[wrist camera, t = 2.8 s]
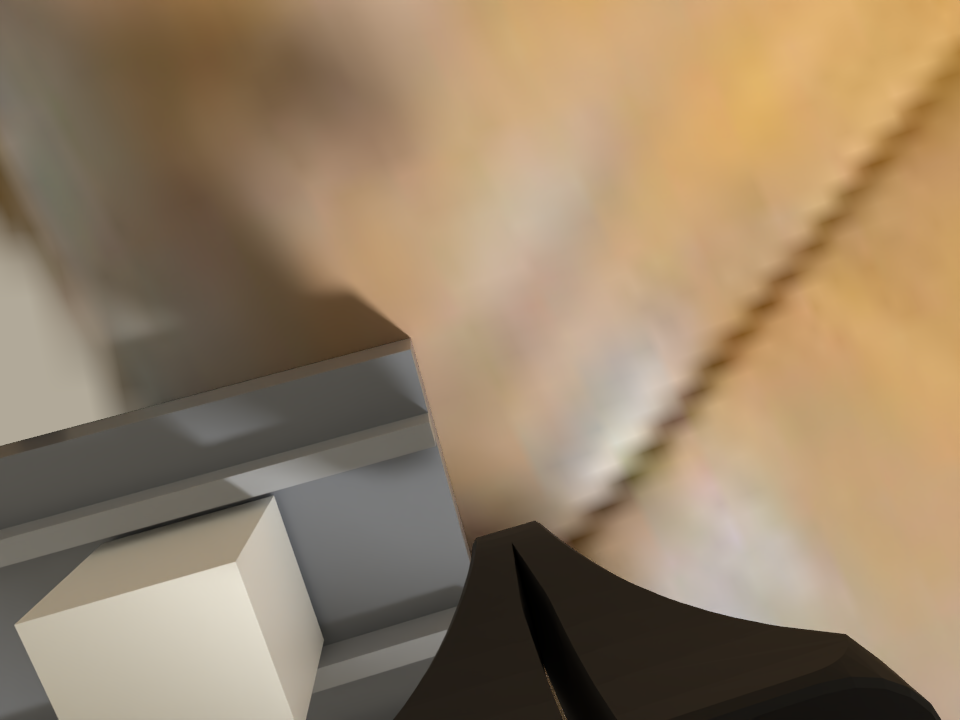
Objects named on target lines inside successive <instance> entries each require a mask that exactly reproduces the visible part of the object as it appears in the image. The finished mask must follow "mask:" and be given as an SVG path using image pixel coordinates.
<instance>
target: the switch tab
mask: <svg viewBox="0 0 960 720" xmlns="http://www.w3.org/2000/svg"><path fill="white" fill-rule="evenodd" d="M14 626H15V628H16V630H17V632H18V634H19V636H20V638H21V641H22V643H23V645H24V647H25V649H26V651H27V653H28V655H29V658H30V660H31V662H32V664H33V666H34V668H35V670H36V672H37V675H38V677H39V679H40V681H41V683H42V685H43V687H44V689H45V692H46V694H47V696H48V698H49V700H50V702H51V704H52V706H53V709H54V711H55V713H56V715H57V717H58V719H59V720H306V717H307V712H308V708H309V704H310V699H311V695H312V691H313V686H314V682H315V677H316V673H317V669H318V664H319V660H320V655H321V651H322V647H323V642H324V638H323V636H322V633H321V630H320V627H319V624H318V621H317V618H316V615H315V612H314V610H313V607H312V604H311V601H310V598H309V595H308V592H307V589H306V586H305V584H304V581H303V578H302V575H301V572H300V569H299V566H298V563H297V561H296V558H295V555H294V552H293V549H292V546H291V543H290V540H289V537H288V535H287V532H286V529H285V526H284V523H283V520H282V517H281V514H280V511H279V509H278V506H277V503H276V500H275V497H274V496H270V497H266V498H263V499H259V500H256V501H252V502H249V503H245V504H241V505H238V506H234V507H231V508H227V509H224V510H220V511H216V512H213V513H209V514H206V515H202V516H198V517H195V518H191V519H188V520H184V521H181V522H177V523H173V524H170V525H166V526H163V527H159V528H155V529H152V530H148V531H145V532H141V533H138V534H134V535H130V536H127V537H123V538H120V539H116V540H112V541H109V542H105V543H102V544H101V545H100V546H99V547H98V548H97V549H96V550H95V551H94V552H93V553H92V554H90V555H89V556H88V557H87V558H86V559H85V560H84V561H83V562H82V563H81V564H80V565H79V566H77V567H76V568H75V569H74V570H73V571H72V572H71V573H70V574H69V575H68V576H67V577H66V578H64V579H63V580H62V581H61V582H60V583H59V584H58V585H57V586H56V587H55V588H54V589H53V590H51V591H50V592H49V593H48V594H47V595H46V596H45V597H44V598H43V599H42V600H41V601H40V602H38V603H37V604H36V605H35V606H34V607H33V608H32V609H31V610H30V611H29V612H28V613H27V614H25V615H24V616H23V617H22V618H21V619H20V620H19V621H18V622H17V623H16V624H15V625H14Z"/></svg>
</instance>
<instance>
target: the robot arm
mask: <svg viewBox="0 0 960 720" xmlns="http://www.w3.org/2000/svg"><path fill="white" fill-rule="evenodd" d="M543 664H544V665H543ZM544 667H545V669H546V671H547V674H548V676H549V678H550V681H551V683H552V685H553V688H554V690H555V692H556V695H557V697H558V699H559V702H560V704H561V706H562V708H563V711H564V713H565V715H566V718H567V720H941V719H940V717H939V715H938V714H937V712H936V711H935V709H934V708H933V706H932V705H931V703H929V702H928V701H927V700H926V699H925V698H924V697H923V696H921V695H920V694H919V693H918V692H917V691H916V690H914V689H913V688H912V687H911V686H910V685H909V684H907V683H906V682H905V681H904V680H903V679H902V678H901V677H900V676H899V675H897V674H896V673H895V672H894V671H893V670H891V669H890V668H889V667H888V666H887V665H886V664H884V663H883V662H882V661H881V660H880V659H878V658H877V657H876V656H874V655H873V654H872V653H870V652H869V651H868V650H866V649H865V648H864V647H862V646H861V645H859V644H858V643H857V642H855V641H854V640H853V639H852V638H850V637H849V636H848V635H846V634H839V633H831V632H822V631H814V630H806V629H797V628H789V627H780V626H774V625H769V624H764V623H759V622H754V621H749V620H744V619H739V618H734V617H730V616H726V615H722V614H718V613H714V612H710V611H707V610H703V609H700V608H697V607H693V606H690V605H687V604H684V603H680V602H677V601H675V600H672V599H669V598H666V597H663V596H661V595H658V594H656V593H654V592H651V591H649V590H646V589H644V588H642V587H639V586H637V585H634V584H632V583H630V582H628V581H626V580H624V579H622V578H620V577H618V576H616V575H614V574H613V573H611V572H609V571H607V570H605V569H604V568H602V567H600V566H599V565H597V564H595V563H594V562H592V561H591V560H589V559H588V558H586V557H585V556H583V555H581V554H580V553H578V552H577V551H575V550H574V549H573V548H571V547H570V546H568V545H567V544H566V543H564V542H563V541H561V540H560V539H559V538H557V537H556V536H555V535H554V534H552V533H551V532H550V531H549V530H547V529H546V528H545V527H544V526H542V525H541V524H540V523H538V522H536V521H533V522H529V523H526V524H522V525H519V526H516V527H512V528H509V529H505V530H502V531H498V532H495V533H492V534H488V535H485V536H481V537H478V538H476V540H475V541H474V543H473V546H472V556H471V562H470V566H469V570H468V574H467V578H466V581H465V584H464V588H463V591H462V594H461V597H460V600H459V603H458V606H457V608H456V611H455V613H454V615H453V618H452V620H451V623H450V625H449V628H448V630H447V633H446V635H445V637H444V639H443V641H442V643H441V645H440V647H439V649H438V651H437V653H436V655H435V657H434V659H433V660H432V662H431V664H430V666H429V668H428V669H427V671H426V673H425V674H424V676H423V678H422V679H421V681H420V682H419V684H418V685H417V687H416V689H415V690H414V692H413V693H412V695H411V696H410V698H409V699H408V700H407V702H406V703H405V705H404V706H403V708H402V709H401V710H400V712H399V713H398V714H397V715H396V717H395V718H394V719H393V720H563V719H562V717H561V714H560V712H559V709H558V707H557V704H556V702H555V699H554V697H553V694H552V691H551V689H550V686H549V683H548V681H547V678H546V675H545V670H544Z"/></svg>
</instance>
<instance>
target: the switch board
mask: <svg viewBox="0 0 960 720" xmlns="http://www.w3.org/2000/svg"><path fill="white" fill-rule="evenodd" d="M270 496H274V497H275V500H276V503H277V506H278V509H279V511H280V514H281V517H282V520H283V523H284V526H285V529H286V532H287V535H288V537H289V540H290V543H291V546H292V549H293V552H294V555H295V558H296V561H297V563H298V566H299V569H300V572H301V575H302V578H303V581H304V584H305V586H306V589H307V592H308V595H309V598H310V601H311V604H312V607H313V610H314V612H315V615H316V618H317V621H318V624H319V627H320V630H321V633H322V636H323V638H324V642H323V647H322V651H321V655H320V660H319V664H318V669H317V673H316V677H315V682H314V686H313V691H312V695H311V699H310V704H309V708H308V712H307V717H306V720H393V719H394V718H395V717H396V715H397V714H398V713H399V712H400V710H401V709H402V708H403V706H404V705H405V703H406V702H407V700H408V699H409V698H410V696H411V695H412V693H413V692H414V690H415V689H416V687H417V685H418V684H419V682H420V681H421V679H422V678H423V676H424V674H425V673H426V671H427V669H428V668H429V666H430V664H431V662H432V660H433V659H434V657H435V655H436V653H437V651H438V649H439V647H440V645H441V643H442V641H443V639H444V637H445V635H446V633H447V630H448V628H449V625H450V623H451V620H452V618H453V615H454V613H455V611H456V608H457V606H458V603H459V600H460V597H461V594H462V591H463V588H464V584H465V581H466V578H467V574H468V570H469V566H470V562H471V554H470V550H469V547H468V543H467V539H466V536H465V532H464V529H463V525H462V521H461V518H460V514H459V511H458V507H457V503H456V500H455V496H454V493H453V489H452V485H451V482H450V478H449V474H448V471H447V467H446V464H445V460H444V456H443V453H442V449H441V446H440V442H439V438H438V435H437V431H436V428H435V424H434V420H433V417H432V413H431V410H430V406H429V402H428V399H427V395H426V391H425V388H424V384H423V381H422V377H421V373H420V370H419V366H418V363H417V359H416V355H415V352H414V348H413V345H412V341H411V338H408V339H404V340H400V341H397V342H393V343H389V344H385V345H381V346H378V347H374V348H370V349H366V350H362V351H359V352H355V353H351V354H347V355H344V356H340V357H336V358H332V359H328V360H325V361H321V362H317V363H313V364H309V365H306V366H302V367H298V368H294V369H290V370H287V371H283V372H279V373H275V374H272V375H268V376H264V377H260V378H256V379H253V380H249V381H245V382H241V383H237V384H234V385H230V386H226V387H222V388H218V389H215V390H211V391H207V392H203V393H200V394H196V395H192V396H188V397H184V398H181V399H177V400H173V401H169V402H165V403H162V404H158V405H154V406H150V407H147V408H143V409H139V410H135V411H131V412H128V413H124V414H120V415H116V416H112V417H109V418H105V419H101V420H97V421H93V422H90V423H86V424H82V425H79V426H75V427H71V428H67V429H63V430H60V431H56V432H52V433H48V434H44V435H41V436H37V437H33V438H29V439H25V440H21V441H18V442H14V443H10V444H6V445H3V446H0V720H59V719H58V717H57V715H56V713H55V711H54V709H53V706H52V704H51V702H50V700H49V698H48V696H47V694H46V692H45V689H44V687H43V685H42V683H41V681H40V679H39V677H38V675H37V672H36V670H35V668H34V666H33V664H32V662H31V660H30V658H29V655H28V653H27V651H26V649H25V647H24V645H23V643H22V641H21V638H20V636H19V634H18V632H17V630H16V628H15V626H14V625H15V624H16V623H17V622H18V621H19V620H20V619H21V618H22V617H23V616H24V615H25V614H27V613H28V612H29V611H30V610H31V609H32V608H33V607H34V606H35V605H36V604H37V603H38V602H40V601H41V600H42V599H43V598H44V597H45V596H46V595H47V594H48V593H49V592H50V591H51V590H53V589H54V588H55V587H56V586H57V585H58V584H59V583H60V582H61V581H62V580H63V579H64V578H66V577H67V576H68V575H69V574H70V573H71V572H72V571H73V570H74V569H75V568H76V567H77V566H79V565H80V564H81V563H82V562H83V561H84V560H85V559H86V558H87V557H88V556H89V555H90V554H92V553H93V552H94V551H95V550H96V549H97V548H98V547H99V546H100V545H101V544H102V543H105V542H109V541H112V540H116V539H120V538H123V537H127V536H130V535H134V534H138V533H141V532H145V531H148V530H152V529H155V528H159V527H163V526H166V525H170V524H173V523H177V522H181V521H184V520H188V519H191V518H195V517H198V516H202V515H206V514H209V513H213V512H216V511H220V510H224V509H227V508H231V507H234V506H238V505H241V504H245V503H249V502H252V501H256V500H259V499H263V498H266V497H270Z"/></svg>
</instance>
